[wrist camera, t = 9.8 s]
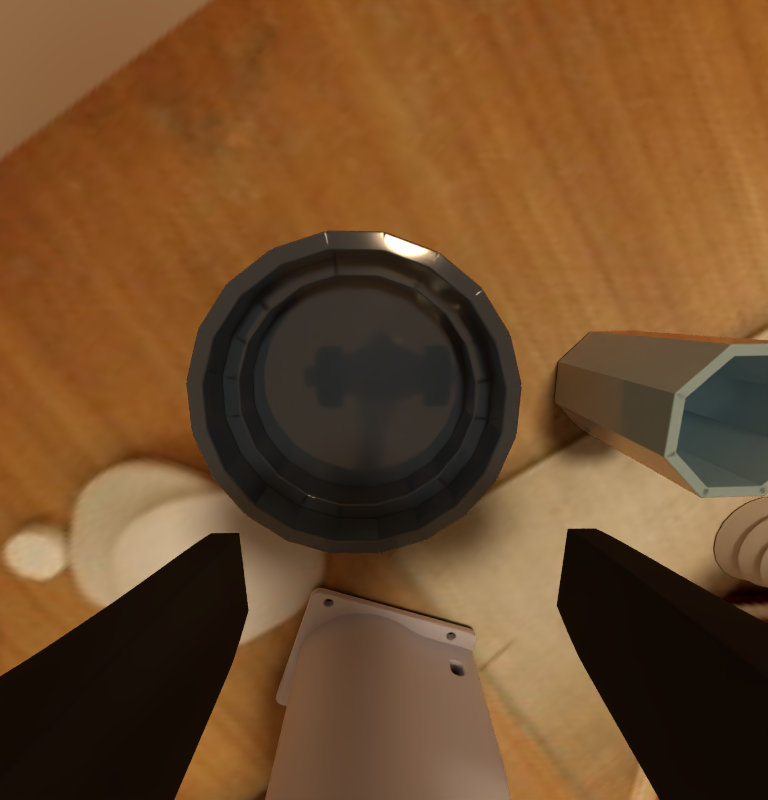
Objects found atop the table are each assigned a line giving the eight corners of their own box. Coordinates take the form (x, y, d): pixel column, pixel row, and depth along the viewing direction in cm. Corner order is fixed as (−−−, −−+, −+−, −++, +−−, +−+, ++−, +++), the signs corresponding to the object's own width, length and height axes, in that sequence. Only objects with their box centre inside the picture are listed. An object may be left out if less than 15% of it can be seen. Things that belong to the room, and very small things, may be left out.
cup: (661, 330, 17) (850, 341, 10) (646, 426, 18) (808, 495, 11) (560, 332, 17) (683, 345, 10) (551, 429, 18) (657, 499, 11)
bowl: (529, 305, 17) (576, 303, 13) (434, 532, 19) (449, 587, 15) (268, 208, 16) (232, 174, 12) (204, 463, 18) (157, 504, 14)
